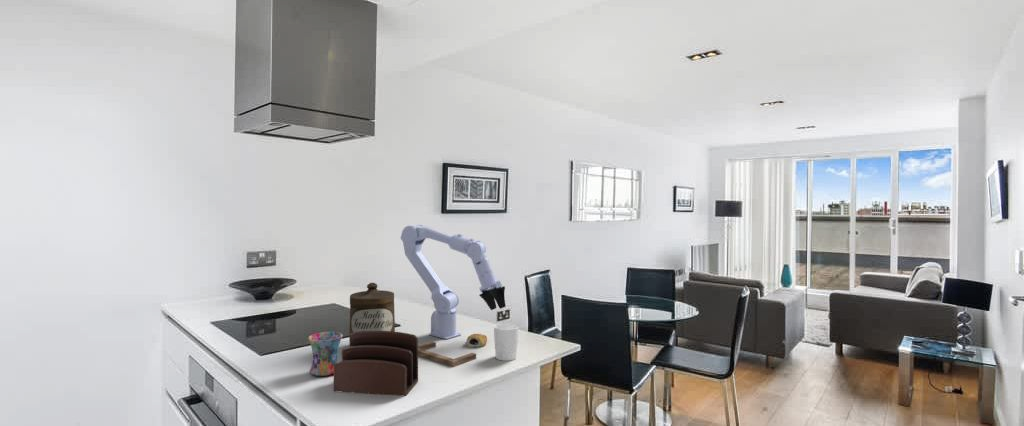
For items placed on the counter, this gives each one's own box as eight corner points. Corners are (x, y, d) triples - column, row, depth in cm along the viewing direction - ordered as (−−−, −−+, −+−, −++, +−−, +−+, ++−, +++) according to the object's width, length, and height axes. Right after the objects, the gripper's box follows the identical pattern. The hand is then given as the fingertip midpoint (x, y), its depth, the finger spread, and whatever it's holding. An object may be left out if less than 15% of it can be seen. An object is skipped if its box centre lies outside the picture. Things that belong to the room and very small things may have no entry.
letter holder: (350, 378, 132) (350, 328, 132) (418, 382, 129) (419, 331, 129) (332, 392, 122) (332, 338, 122) (406, 396, 120) (406, 341, 119)
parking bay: (408, 352, 154) (408, 348, 154) (431, 345, 162) (431, 341, 162) (453, 366, 141) (453, 362, 141) (476, 358, 149) (476, 353, 149)
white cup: (489, 359, 149) (489, 327, 149) (501, 352, 156) (501, 322, 156) (511, 363, 145) (511, 331, 145) (522, 356, 152) (522, 325, 152)
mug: (331, 379, 130) (331, 341, 130) (301, 377, 132) (301, 339, 132) (352, 365, 142) (353, 330, 142) (324, 363, 144) (324, 328, 143)
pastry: (473, 339, 171) (473, 329, 171) (491, 341, 169) (491, 330, 169) (464, 346, 162) (464, 335, 162) (482, 348, 160) (483, 337, 160)
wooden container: (349, 355, 151) (349, 287, 151) (349, 342, 165) (349, 280, 165) (396, 351, 156) (396, 285, 155) (392, 339, 170) (393, 278, 169)
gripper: (502, 266, 167) (516, 302, 166) (486, 272, 179) (498, 305, 178) (486, 273, 163) (500, 310, 162) (470, 278, 175) (483, 312, 174)
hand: (498, 308), depth 170 cm, fingers open, 7 cm apart
